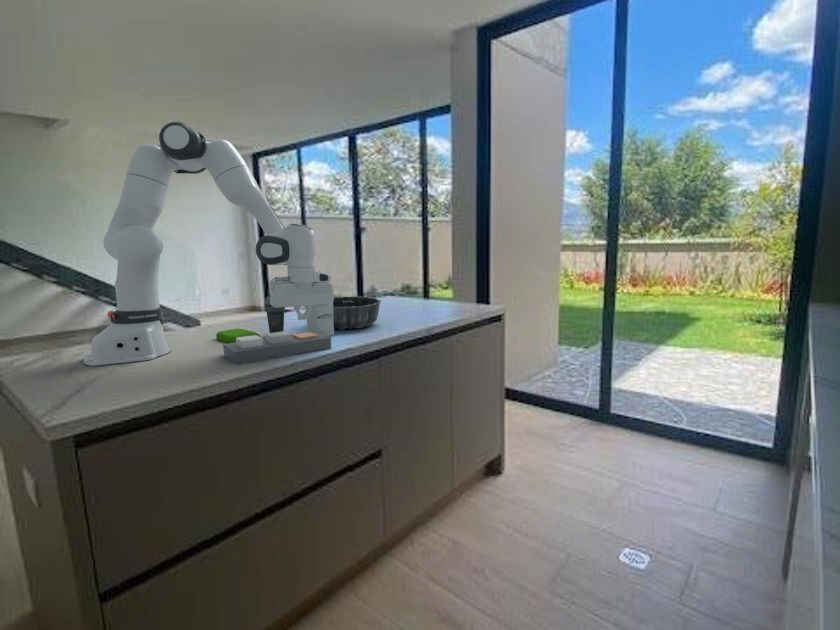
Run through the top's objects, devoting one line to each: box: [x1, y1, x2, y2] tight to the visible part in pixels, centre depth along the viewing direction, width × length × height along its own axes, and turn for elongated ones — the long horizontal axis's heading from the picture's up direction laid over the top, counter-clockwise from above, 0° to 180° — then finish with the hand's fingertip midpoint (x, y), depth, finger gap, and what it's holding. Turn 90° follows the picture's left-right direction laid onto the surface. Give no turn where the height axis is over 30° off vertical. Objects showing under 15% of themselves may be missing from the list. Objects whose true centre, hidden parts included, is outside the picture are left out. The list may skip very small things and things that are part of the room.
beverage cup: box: [264, 293, 286, 333], centre depth 169 cm, size 7×7×20 cm
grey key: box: [264, 331, 292, 344], centre depth 148 cm, size 6×6×3 cm
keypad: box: [222, 331, 332, 365], centre depth 148 cm, size 30×12×4 cm, turn 128°
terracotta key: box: [292, 332, 318, 340], centre depth 153 cm, size 6×6×3 cm
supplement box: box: [305, 302, 335, 337], centre depth 171 cm, size 7×7×13 cm
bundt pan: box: [333, 296, 382, 330], centre depth 189 cm, size 26×26×10 cm
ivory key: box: [236, 335, 264, 349], centre depth 142 cm, size 6×6×3 cm
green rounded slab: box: [215, 327, 264, 344], centre depth 162 cm, size 3×11×24 cm
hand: (303, 319), depth 151 cm, fingers closed
